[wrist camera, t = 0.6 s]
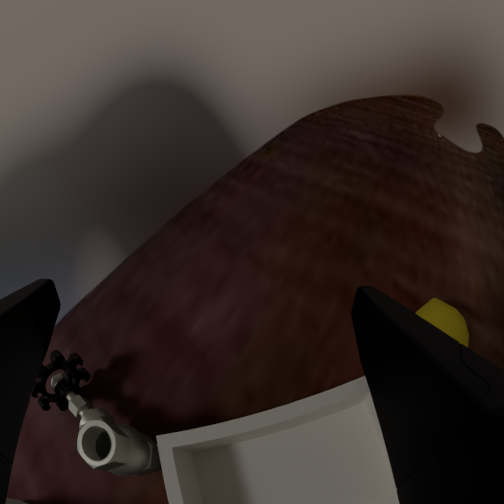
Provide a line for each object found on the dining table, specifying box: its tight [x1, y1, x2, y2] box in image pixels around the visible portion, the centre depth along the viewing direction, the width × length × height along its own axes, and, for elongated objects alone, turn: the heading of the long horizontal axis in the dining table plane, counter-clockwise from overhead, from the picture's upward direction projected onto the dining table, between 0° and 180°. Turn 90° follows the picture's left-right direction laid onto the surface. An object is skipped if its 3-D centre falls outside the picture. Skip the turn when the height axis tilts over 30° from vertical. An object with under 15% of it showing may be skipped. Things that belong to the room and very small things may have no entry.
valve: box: [32, 350, 160, 476], centre depth 20 cm, size 7×7×12 cm
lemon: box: [415, 298, 469, 348], centre depth 20 cm, size 7×5×5 cm
